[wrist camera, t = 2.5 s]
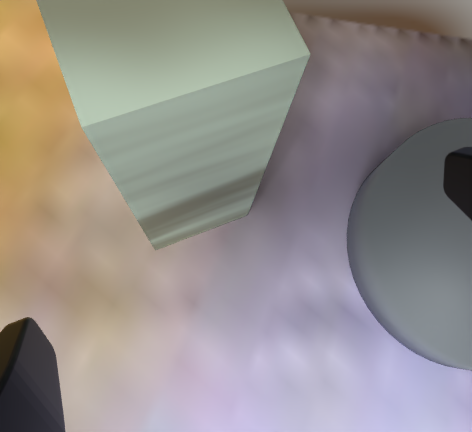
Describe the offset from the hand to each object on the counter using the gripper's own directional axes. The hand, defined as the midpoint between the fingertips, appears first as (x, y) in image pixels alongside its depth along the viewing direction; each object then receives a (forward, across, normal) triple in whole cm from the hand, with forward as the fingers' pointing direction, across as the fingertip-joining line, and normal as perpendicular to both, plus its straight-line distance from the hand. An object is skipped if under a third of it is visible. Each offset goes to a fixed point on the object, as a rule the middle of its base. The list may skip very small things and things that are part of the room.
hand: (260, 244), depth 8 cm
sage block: (+13, 0, +5) cm, 14 cm away
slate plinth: (+7, -12, +10) cm, 17 cm away
